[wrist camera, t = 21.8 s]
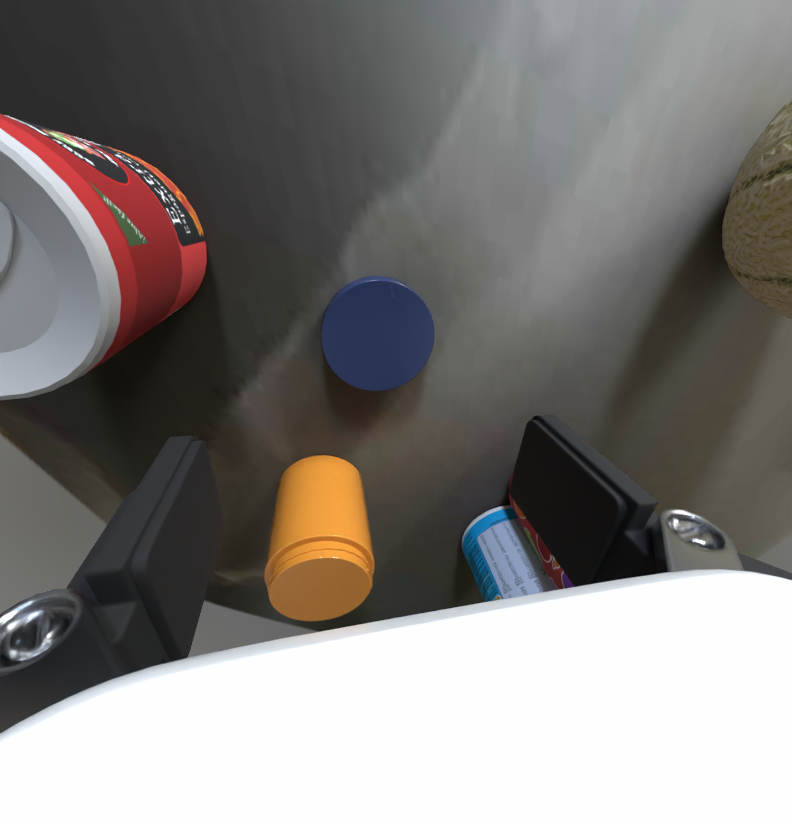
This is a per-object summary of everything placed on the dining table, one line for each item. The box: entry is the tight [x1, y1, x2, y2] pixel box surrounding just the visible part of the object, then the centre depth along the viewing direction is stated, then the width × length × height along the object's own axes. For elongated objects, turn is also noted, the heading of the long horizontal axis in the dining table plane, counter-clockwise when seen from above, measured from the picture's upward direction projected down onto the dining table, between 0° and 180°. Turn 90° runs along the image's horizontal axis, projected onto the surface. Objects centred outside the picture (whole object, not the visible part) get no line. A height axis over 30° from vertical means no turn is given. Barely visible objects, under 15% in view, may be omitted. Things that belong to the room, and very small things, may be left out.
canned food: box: [0, 114, 207, 400], centre depth 14 cm, size 8×8×11 cm
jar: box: [264, 455, 375, 621], centre depth 25 cm, size 7×7×9 cm
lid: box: [321, 276, 434, 391], centre depth 23 cm, size 7×7×2 cm
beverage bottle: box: [462, 505, 555, 602], centre depth 27 cm, size 8×8×20 cm
